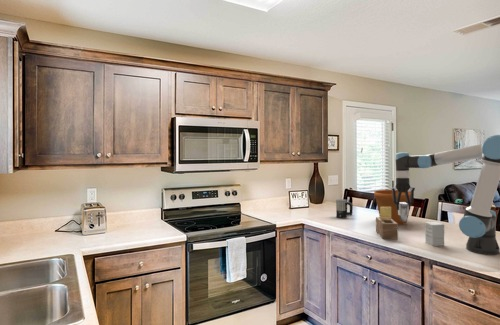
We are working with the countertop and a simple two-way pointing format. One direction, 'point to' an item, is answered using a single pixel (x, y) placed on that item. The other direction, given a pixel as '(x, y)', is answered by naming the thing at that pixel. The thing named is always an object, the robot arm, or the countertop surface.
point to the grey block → (403, 211)
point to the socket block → (387, 228)
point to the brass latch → (385, 213)
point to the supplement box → (434, 233)
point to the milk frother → (343, 208)
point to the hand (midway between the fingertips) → (403, 214)
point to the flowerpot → (390, 203)
